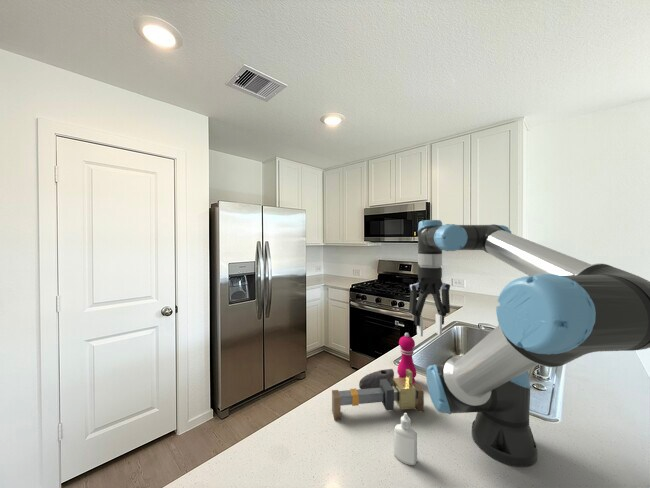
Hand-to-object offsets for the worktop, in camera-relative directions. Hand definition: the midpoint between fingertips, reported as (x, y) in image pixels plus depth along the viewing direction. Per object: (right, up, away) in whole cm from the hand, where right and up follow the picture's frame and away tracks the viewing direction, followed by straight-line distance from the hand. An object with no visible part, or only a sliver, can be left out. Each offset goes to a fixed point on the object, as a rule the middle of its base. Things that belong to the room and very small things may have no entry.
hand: (429, 334), depth 89 cm
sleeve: (-9, -23, -1) cm, 24 cm away
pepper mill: (-3, -25, +15) cm, 29 cm away
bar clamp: (-18, -25, -2) cm, 31 cm away
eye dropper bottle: (-14, -26, -20) cm, 36 cm away
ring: (-15, -23, -1) cm, 27 cm away
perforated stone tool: (-15, -25, +11) cm, 31 cm away
